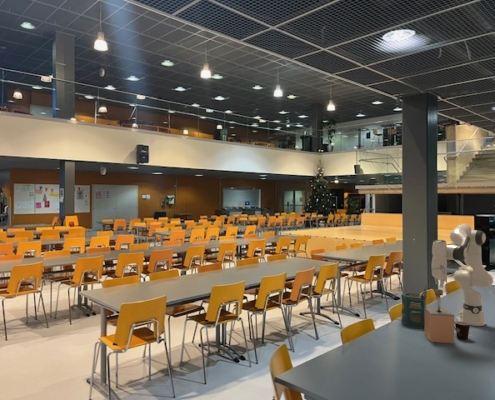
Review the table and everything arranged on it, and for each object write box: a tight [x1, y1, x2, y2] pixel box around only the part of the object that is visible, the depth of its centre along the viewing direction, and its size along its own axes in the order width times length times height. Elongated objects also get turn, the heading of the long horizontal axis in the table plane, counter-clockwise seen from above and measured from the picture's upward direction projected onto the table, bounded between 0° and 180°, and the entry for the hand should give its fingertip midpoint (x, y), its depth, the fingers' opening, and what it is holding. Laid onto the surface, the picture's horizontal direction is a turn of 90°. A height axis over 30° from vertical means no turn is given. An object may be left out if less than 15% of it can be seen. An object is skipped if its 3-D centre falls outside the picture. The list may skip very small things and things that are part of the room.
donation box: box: [400, 284, 428, 329], centre depth 284 cm, size 16×16×28 cm
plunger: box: [434, 288, 444, 312], centre depth 251 cm, size 10×10×17 cm
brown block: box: [423, 307, 455, 344], centre depth 251 cm, size 14×14×18 cm
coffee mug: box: [454, 320, 471, 341], centre depth 254 cm, size 12×9×10 cm
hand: (439, 285), depth 252 cm, fingers open, 8 cm apart
